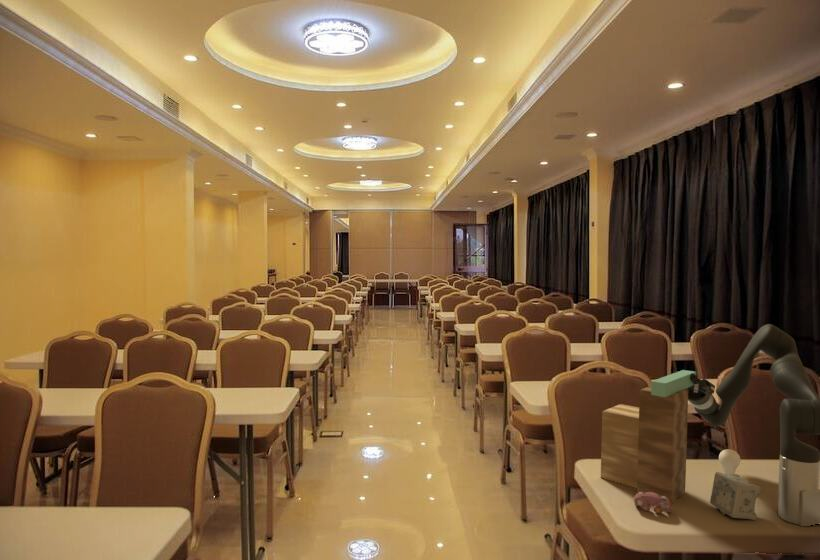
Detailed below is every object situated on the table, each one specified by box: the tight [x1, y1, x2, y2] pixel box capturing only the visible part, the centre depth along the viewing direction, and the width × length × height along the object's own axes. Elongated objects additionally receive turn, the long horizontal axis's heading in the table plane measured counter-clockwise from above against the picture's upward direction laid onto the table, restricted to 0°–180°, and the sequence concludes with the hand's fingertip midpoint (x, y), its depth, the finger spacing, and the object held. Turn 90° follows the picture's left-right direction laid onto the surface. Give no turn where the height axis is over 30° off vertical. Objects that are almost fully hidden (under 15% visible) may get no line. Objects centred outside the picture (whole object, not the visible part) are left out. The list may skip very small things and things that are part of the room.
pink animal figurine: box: [633, 492, 673, 515], centre depth 165 cm, size 10×5×7 cm, turn 63°
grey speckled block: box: [709, 471, 761, 521], centre depth 164 cm, size 10×8×10 cm
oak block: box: [600, 403, 639, 489], centre depth 191 cm, size 14×12×22 cm
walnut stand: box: [636, 385, 689, 505], centre depth 177 cm, size 12×10×32 cm
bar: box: [650, 369, 697, 397], centre depth 178 cm, size 26×4×4 cm, turn 136°
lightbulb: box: [718, 448, 741, 474], centre depth 187 cm, size 6×6×11 cm
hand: (683, 375), depth 183 cm, fingers open, 4 cm apart
